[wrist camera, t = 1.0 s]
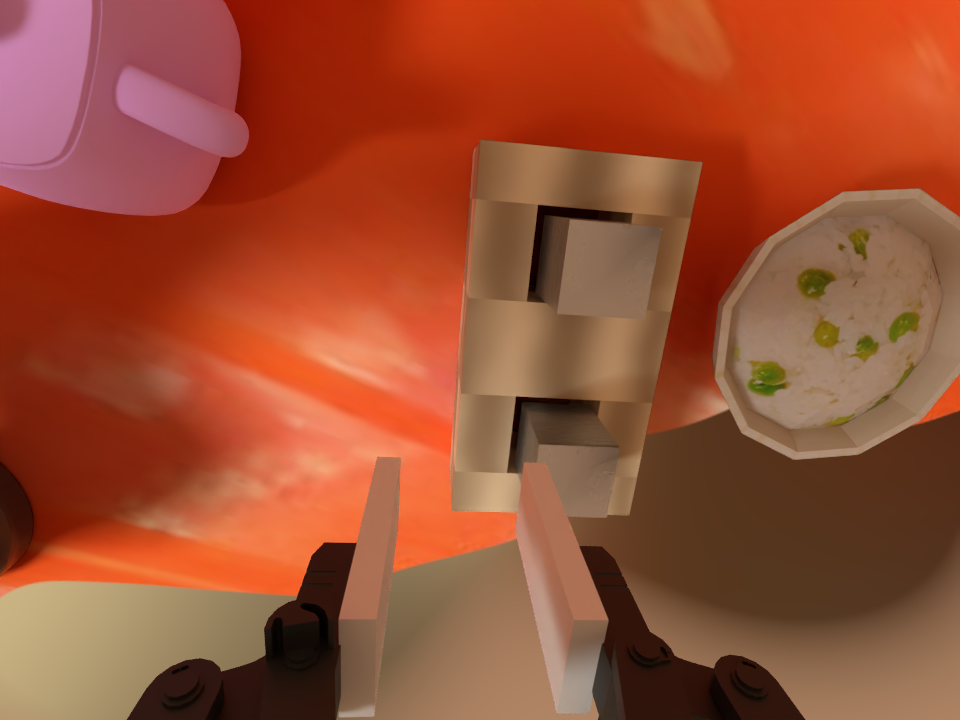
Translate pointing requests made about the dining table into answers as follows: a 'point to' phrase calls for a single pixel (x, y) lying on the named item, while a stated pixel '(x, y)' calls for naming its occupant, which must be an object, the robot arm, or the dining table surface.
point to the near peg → (597, 266)
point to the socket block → (538, 328)
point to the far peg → (570, 454)
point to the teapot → (118, 101)
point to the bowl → (843, 324)
